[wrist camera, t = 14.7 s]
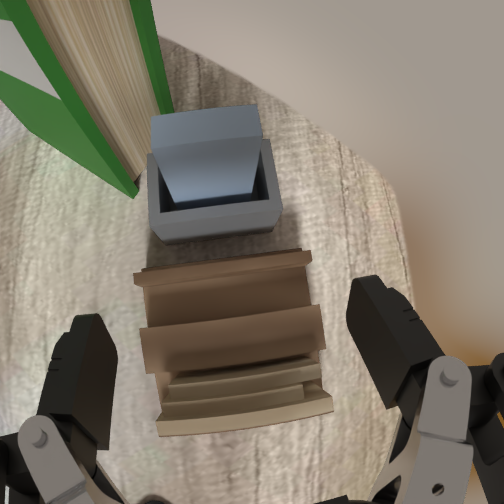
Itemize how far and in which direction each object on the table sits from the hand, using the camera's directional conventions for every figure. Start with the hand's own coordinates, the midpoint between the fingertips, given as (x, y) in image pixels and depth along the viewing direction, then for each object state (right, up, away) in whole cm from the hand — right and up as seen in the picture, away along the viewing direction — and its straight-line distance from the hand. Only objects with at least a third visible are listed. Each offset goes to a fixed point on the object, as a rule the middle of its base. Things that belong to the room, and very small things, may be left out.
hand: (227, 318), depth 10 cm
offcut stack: (0, -8, +14) cm, 16 cm away
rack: (-1, -5, +16) cm, 17 cm away
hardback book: (-15, +14, +19) cm, 28 cm away
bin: (-2, +6, +18) cm, 19 cm away
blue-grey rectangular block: (-2, +6, +17) cm, 18 cm away
